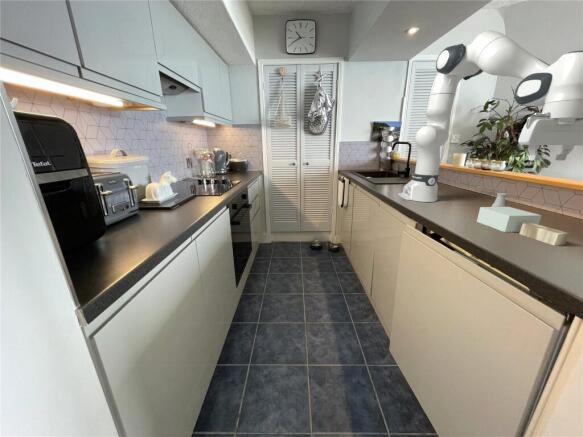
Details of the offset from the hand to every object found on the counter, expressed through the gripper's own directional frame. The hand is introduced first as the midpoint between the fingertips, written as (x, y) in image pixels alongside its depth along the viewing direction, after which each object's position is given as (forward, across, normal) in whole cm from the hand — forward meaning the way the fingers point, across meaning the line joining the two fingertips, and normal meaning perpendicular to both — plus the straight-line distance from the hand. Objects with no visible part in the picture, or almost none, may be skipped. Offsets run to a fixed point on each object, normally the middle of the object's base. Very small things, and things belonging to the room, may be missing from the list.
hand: (546, 160), depth 75 cm
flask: (+25, +9, +20) cm, 33 cm away
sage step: (+25, 0, +7) cm, 26 cm away
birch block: (+23, 0, -1) cm, 23 cm away
